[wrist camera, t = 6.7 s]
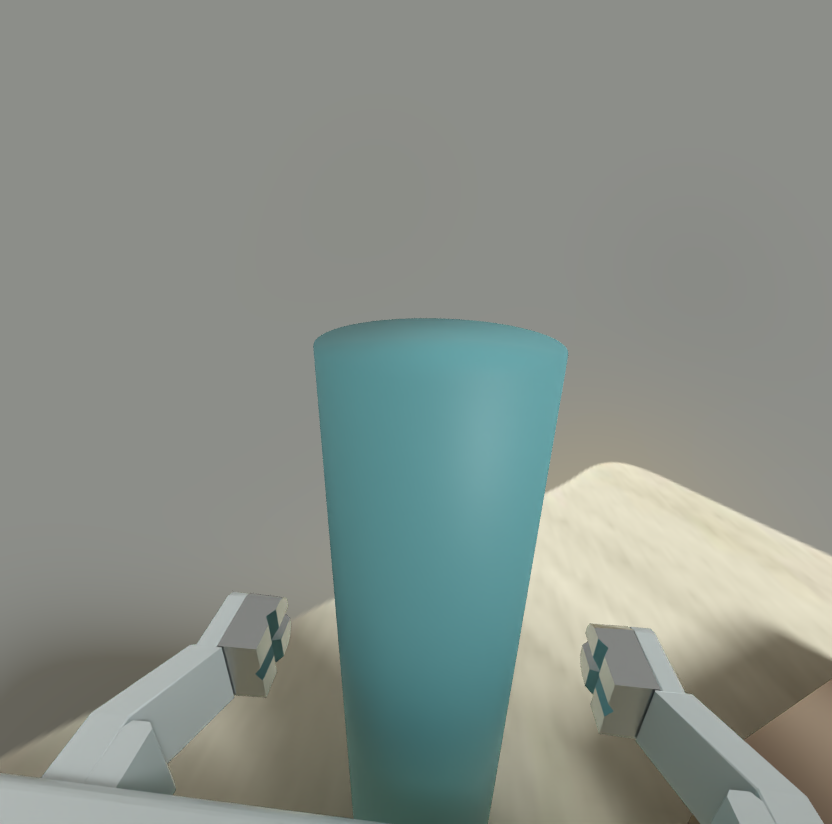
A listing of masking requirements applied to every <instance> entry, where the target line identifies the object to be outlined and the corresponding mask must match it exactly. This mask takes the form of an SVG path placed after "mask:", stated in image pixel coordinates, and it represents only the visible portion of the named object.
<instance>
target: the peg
mask: <svg viewBox="0 0 832 824" xmlns="http://www.w3.org/2000/svg"><path fill="white" fill-rule="evenodd" d="M313 348H314V358H315V371H316V382H317V394H318V406H319V418H320V429H321V442H322V452H323V465H324V476H325V488H326V499H327V512H328V524H329V534H330V547H331V559H332V571H333V581H334V594H335V606H336V618H337V629H338V641H339V653H340V665H341V676H342V688H343V700H344V712H345V723H346V735H347V747H348V759H349V770H350V782H351V794H352V806H353V817H354V819H359V820H366V821H374V822H382V823H389V824H488V820H489V814H490V808H491V802H492V796H493V791H494V785H495V779H496V773H497V767H498V761H499V756H500V750H501V744H502V738H503V732H504V726H505V721H506V715H507V709H508V703H509V697H510V691H511V686H512V680H513V674H514V668H515V662H516V656H517V651H518V645H519V639H520V633H521V627H522V621H523V616H524V610H525V604H526V598H527V592H528V586H529V581H530V575H531V569H532V563H533V557H534V551H535V545H536V540H537V534H538V528H539V522H540V516H541V510H542V505H543V499H544V493H545V487H546V481H547V475H548V470H549V464H550V458H551V452H552V446H553V440H554V435H555V429H556V423H557V417H558V411H559V405H560V399H561V394H562V387H563V382H564V376H565V370H566V364H567V358H568V350H567V349H566V347H565V346H564V345H563V344H562V343H560V342H559V341H557V340H555V339H553V338H551V337H549V336H547V335H543V334H541V333H538V332H535V331H531V330H527V329H523V328H519V327H514V326H509V325H503V324H497V323H490V322H481V321H472V320H460V319H436V318H414V319H392V320H380V321H372V322H365V323H358V324H353V325H349V326H344V327H340V328H337V329H334V330H331V331H329V332H326V333H325V334H323V335H321V336H320V337H318V338H317V339H316V340H315V342H314V346H313Z"/></svg>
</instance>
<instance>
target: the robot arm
mask: <svg viewBox="0 0 832 824" xmlns="http://www.w3.org/2000/svg"><path fill="white" fill-rule="evenodd" d="M287 609H288V602H287V598H285V597H278V596H269V595H261V594H252V593H242V592H232V593H231V594H229V595H228V596H227V597H226V599H225V601H224V602H223V604H222V605H221V607H220V608H219V610H218V611H217V613H216V614H215V616H214V618H213V619H212V621H211V622H210V624H209V625H208V627H207V628H206V630H205V632H204V633H203V635H202V636H201V638H200V639H199V641H198V642H197V644H196V645H195V644H194V645H193V644H191V645H189V646H188V647H186V648H185V649H183V650H182V651H180V652H179V653H177V654H176V655H174V656H173V657H172V658H170V659H169V660H167V661H166V662H164V663H163V664H161V665H160V666H159V667H157V668H156V669H154V670H153V671H151V672H150V673H148V674H147V675H145V676H144V677H142V678H141V679H140V680H138V681H137V682H135V683H134V684H132V685H131V686H129V687H128V688H126V689H125V690H124V691H122V692H121V693H119V694H118V695H116V696H115V697H114V698H112V699H110V700H109V701H108V702H106V703H105V704H103V705H102V706H100V707H99V708H97V709H96V710H94V711H93V712H92V713H90V715H89V716H88V717H87V719H86V720H85V721H84V723H83V724H82V725H81V726H80V728H79V729H78V730H77V732H76V733H75V734H74V735H73V737H72V738H71V739H70V741H69V742H68V743H67V745H66V746H65V747H64V748H63V750H62V751H61V752H60V754H59V755H58V756H57V757H56V759H55V760H54V761H53V763H52V764H51V765H50V766H49V768H48V769H47V770H46V772H45V773H44V774H43V776H42V777H41V778H37V777H29V776H21V775H14V774H6V773H0V824H389V823H382V822H374V821H366V820H359V819H351V818H344V817H336V816H328V815H321V814H313V813H305V812H297V811H290V810H282V809H274V808H267V807H259V806H251V805H244V804H236V803H228V802H221V801H213V800H205V799H198V798H190V797H182V796H175V795H173V794H174V792H175V790H176V787H175V782H174V779H173V777H172V774H171V772H170V770H169V767H168V765H167V763H168V762H169V761H170V760H171V759H172V758H174V757H175V756H176V755H177V754H178V753H179V752H180V751H181V750H182V749H183V748H184V747H185V746H186V745H187V744H188V743H189V742H190V741H191V740H192V739H193V738H194V737H195V736H196V735H197V734H198V733H199V732H200V731H201V730H202V729H203V728H204V727H205V726H206V725H207V724H208V723H209V722H210V721H211V720H212V719H213V718H214V717H215V716H216V715H217V714H218V713H219V712H220V711H221V710H222V709H223V708H224V707H225V706H226V705H227V704H228V703H229V702H230V701H231V700H232V699H233V698H234V695H238V696H251V697H264V698H266V697H267V695H268V693H269V690H270V688H271V685H272V683H273V681H274V678H275V676H276V673H277V669H276V662H277V661H278V660H279V659H280V658H282V657H283V656H284V654H285V651H286V649H287V646H288V643H289V638H290V634H291V620H290V618H289V617H288V615H287V614H286V611H287ZM585 634H586V637H587V640H588V641H587V642H586V643H585V644H583V645H582V649H581V654H580V664H581V672H582V677H583V680H584V684H585V686H586V687H587V688H588V690H589V691H590V692H591V693H592V694H593V697H592V700H591V704H590V705H591V708H592V712H593V715H594V718H595V722H596V725H597V729H598V732H599V734H604V735H611V736H618V737H625V738H632V739H636V742H637V744H638V745H639V746H640V747H641V749H642V750H643V751H644V752H645V754H646V755H647V756H648V758H649V759H650V760H651V761H652V763H653V764H654V765H655V766H656V768H657V769H658V770H659V772H660V773H661V774H662V775H663V777H664V778H665V779H666V780H667V782H668V783H669V784H670V786H671V787H672V788H673V789H674V791H675V792H676V793H677V795H678V796H679V797H680V798H681V800H682V801H683V802H684V803H685V805H686V806H687V807H688V809H689V810H690V811H691V812H692V814H693V815H694V816H695V817H696V819H697V820H698V821H699V823H700V824H824V823H823V821H822V820H821V818H820V817H819V815H818V813H817V812H816V810H815V809H814V807H813V805H812V804H811V802H810V801H809V799H808V797H807V796H806V795H804V794H803V793H802V792H801V791H800V790H799V789H798V788H797V787H795V786H794V785H793V784H792V783H791V782H790V781H789V780H788V779H787V778H785V777H784V776H783V775H782V774H781V773H780V772H779V771H778V770H776V769H775V768H774V767H773V766H772V765H771V764H770V763H769V762H767V761H766V760H765V759H764V758H763V757H762V756H761V755H760V754H759V753H757V752H756V751H755V750H754V749H753V748H752V747H751V746H750V745H748V744H747V743H746V742H745V741H744V740H743V739H742V738H741V737H739V736H738V735H737V734H736V733H735V732H734V731H733V730H732V729H731V728H729V727H728V726H727V725H726V724H725V723H724V722H723V721H722V720H720V719H719V718H718V717H717V716H716V715H715V714H714V713H713V712H711V711H710V710H709V709H708V708H707V707H706V706H705V705H704V704H703V703H701V702H700V701H699V700H698V699H697V698H696V697H695V696H694V695H692V694H687V693H685V691H684V689H683V687H682V685H681V683H680V681H679V679H678V678H677V676H676V674H675V672H674V670H673V668H672V666H671V664H670V662H669V660H668V658H667V656H666V654H665V652H664V650H663V648H662V646H661V644H660V642H659V640H658V638H657V636H656V634H655V633H654V632H653V631H652V630H651V629H648V628H637V627H628V626H617V625H603V624H589V625H588V626H587V629H586V633H585Z"/></svg>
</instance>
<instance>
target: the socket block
mask: <svg viewBox="0 0 832 824" xmlns="http://www.w3.org/2000/svg"><path fill="white" fill-rule="evenodd" d="M744 741H745V742H746V743H747V744H748V745H750V746H751V747H752V748H753V749H754V750H755V751H756V752H757V753H759V754H760V755H761V756H762V757H763V758H764V759H765V760H766V761H767V762H769V763H770V764H771V765H772V766H773V767H774V768H775V769H776V770H778V771H779V772H780V773H781V774H782V775H783V776H784V777H785V778H787V779H788V780H789V781H790V782H791V783H792V784H793V785H794V786H795V787H797V788H798V789H799V790H800V791H801V792H802V793H803V794H804V795H806V796H807V797H808V799H809V801H810V802H811V804H812V805H813V807H814V809H815V810H816V812H817V813H818V815H819V817H820V818H821V820H822V821H823V823H824V824H832V679H831V680H829V681H828V682H826V683H825V684H824V685H822V686H821V687H819V688H818V689H816V690H815V691H813V692H812V693H811V694H809V695H808V696H806V697H805V698H803V699H802V700H800V701H799V702H798V703H796V704H795V705H793V706H792V707H790V708H789V709H788V710H786V711H785V712H783V713H782V714H780V715H779V716H777V717H776V718H775V719H773V720H772V721H770V722H769V723H767V724H766V725H764V726H763V727H762V728H760V729H759V730H757V731H756V732H754V733H753V734H751V735H750V736H749V737H747V738H746V739H744ZM688 824H700V823H699V821H698V820H697V819H696V817H695V816H694V815H692V817H691V819H690V820H689V822H688Z"/></svg>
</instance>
